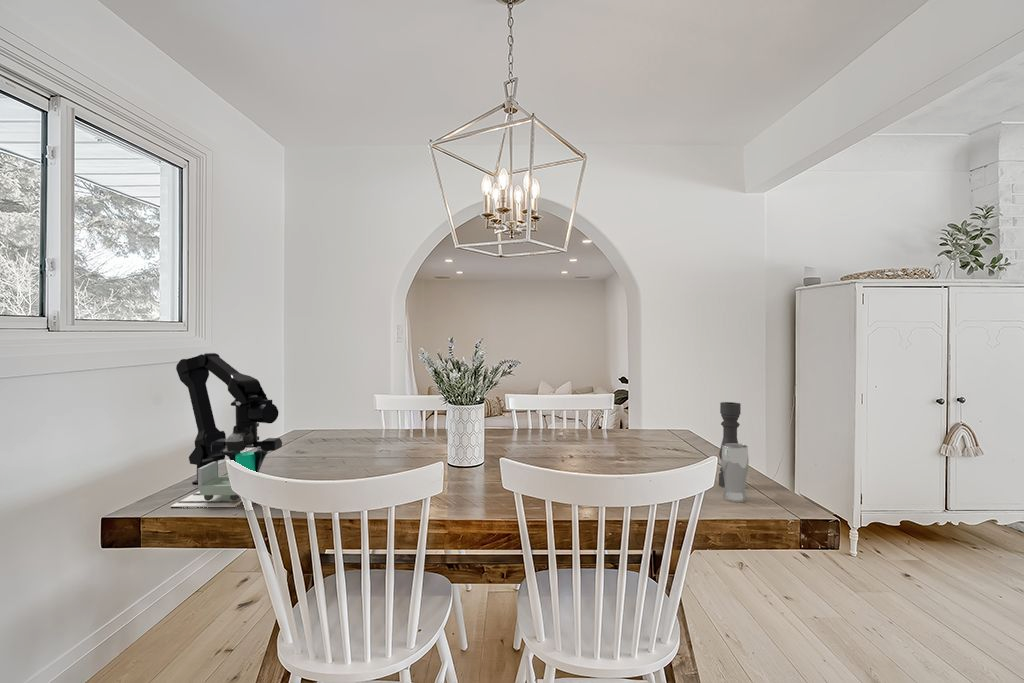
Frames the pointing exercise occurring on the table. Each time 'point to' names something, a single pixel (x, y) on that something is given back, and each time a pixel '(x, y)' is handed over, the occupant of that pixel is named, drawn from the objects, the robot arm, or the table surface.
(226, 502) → the track
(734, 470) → the beer glass
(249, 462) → the candle
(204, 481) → the cart
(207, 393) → the robot arm
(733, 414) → the candle holder
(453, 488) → the table surface
